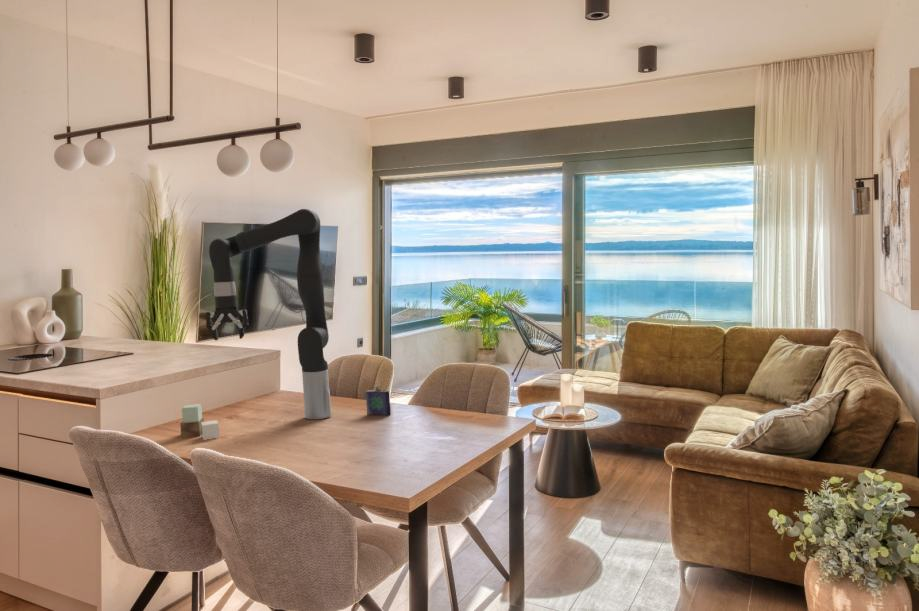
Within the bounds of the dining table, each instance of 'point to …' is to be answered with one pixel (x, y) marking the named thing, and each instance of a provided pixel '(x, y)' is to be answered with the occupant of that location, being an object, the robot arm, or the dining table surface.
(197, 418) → the sage block
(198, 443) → the dining table surface
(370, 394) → the flask
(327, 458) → the dining table surface
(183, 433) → the walnut block
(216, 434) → the cream block
